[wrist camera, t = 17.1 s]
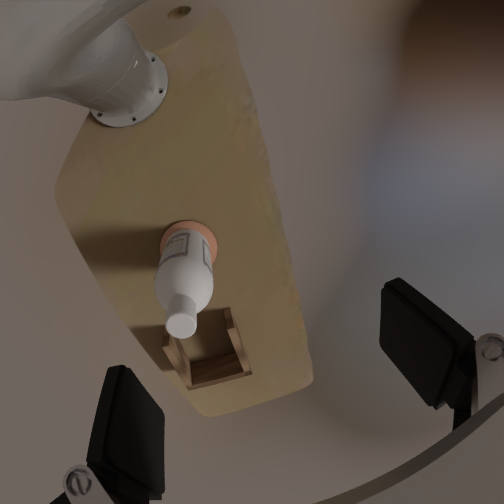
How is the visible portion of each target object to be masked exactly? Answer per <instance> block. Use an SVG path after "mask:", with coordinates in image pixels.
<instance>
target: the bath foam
mask: <svg viewBox="0 0 504 504" xmlns="http://www.w3.org/2000/svg"><path fill="white" fill-rule="evenodd" d="M213 285H214V282H213V273H212V265H211V256H210V248H209V244H208V242H207V240H206V238H205V237H204V236H203V235H202V234H201V233H199V232H198V231H196V230H192V229H182V230H178V231H176V232H175V233H173V234H172V235H171V236H170V237H169V238H168V240H167V242H166V245H165V247H164V250H163V253H162V256H161V259H160V262H159V266H158V269H157V272H156V275H155V293H156V296H157V299H158V301H159V303H160V304H161V306H162V307H163V308H164V309H165V310H166V311H167V313H166V320H165V327H166V330H167V332H168V333H169V334H170V335H172V336H173V337H176V338H181V339H182V338H188V337H190V336H192V335H193V334H194V333H195V331H196V328H197V313H199V312H200V311H202V310H203V309H204V308H205V307H206V305H207V304H208V302H209V300H210V298H211V296H212V292H213Z"/></svg>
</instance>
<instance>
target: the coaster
mask: <svg viewBox="0 0 504 504" xmlns="http://www.w3.org/2000/svg"><path fill="white" fill-rule="evenodd" d="M182 229H192V230H196V231H198V232H199V233H201V234H202V235H203V236H204V237H205V238H206V240H207V242H208V244H209V248H210V256H211V265H212V264H213V263H214V261H215V259H216V256H217V242H216V239H215V236H214V234H213V233H212V232H211V230H210V229H209V228H208V227H206V226H205V225H204V224H202V223H200V222H197V221H191V220H186V221H180V222H177V223H175V224H173V225H172V226H171V227H169V228H168V229H167V230H166V232H165V233H164V235H163V237H162V239H161V243H160V254H161V256H162V253H163V250H164V247H165V245H166V242H167V240H168V238H169V237H170V236H171V235H172V234H173V233H175V232H176V231H178V230H182Z"/></svg>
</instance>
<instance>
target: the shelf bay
mask: <svg viewBox="0 0 504 504" xmlns="http://www.w3.org/2000/svg"><path fill="white" fill-rule="evenodd" d="M224 315H225V321H226V326H227V331H228V333H229V336H230V338H231V341H232V343H233V346H234V348H235V351H236V352H233V353H230V354H226V355H223V356H219V357H215V358H212V359H208V360H204V361H200V362H196V363H192V364H191V362H190V360H189V359H188V357H187V355H186V353H185V351H184V349H183V347H182V345H181V344H180V342H179V340H178V338H176V337H173V336H172V335H170V334H169V333H168V332H167V330H166V327H165V328H164V335H163V343H162V348H163V350H164V352H165V353H166V355H167V357H168V358H169V360H170V362H171V363H172V365H173V367H174V368H175V370H176V372H177V373H178V375H179V376H180V378H181V380H182V381H183V383H184V384H185V386H186V387H187V389H188V390H193V389H197V388H202V387H206V386H210V385H214V384H218V383H222V382H226V381H230V380H233V379H237V378H241V377H244V376H248V375H251V374H252V372H251V368H250V364H249V361H248V357H247V353H246V350H245V348H244V345H243V342H242V340H241V337H240V334H239V331H238V329H237V326H236V323H235V320H234V317H233V315H232V312H231V309H230V308H227V309H224Z"/></svg>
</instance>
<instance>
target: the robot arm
mask: <svg viewBox="0 0 504 504" xmlns="http://www.w3.org/2000/svg"><path fill="white" fill-rule="evenodd" d="M146 1H148V0H0V100H21V99H30V98H35V97H43V96H49V97H55V98H59V99H62V100H66V101H69V102H72V103H76V104H79V105H82V106H85V107H88V108H89V109H90V111H91V113H92V114H93V116H94V117H95V118H96V119H97V120H98V121H100V122H101V123H103V124H105V125H108V126H112V127H122V128H123V127H129V126H133V125H136V124H138V123H140V122H142V121H144V120H146V119H147V118H148V117H150V116H151V115H152V114H153V113H154V112H155V111H156V110H157V109H158V108H159V106H160V105H161V103H162V102H163V100H164V97H165V95H166V92H167V88H168V74H167V71H166V68H165V66H164V64H163V62H162V61H161V60H160V59H159V57H158V56H156V55H155V54H153V53H152V52H149V51H147V50H143V49H142V47H141V45H140V43H139V42H138V40H137V38H136V37H135V35H134V33H133V31H132V30H131V28H130V26H129V25H128V23H127V22H126V21H125V20H124V19H123V18H122V17H123V16H125V15H126V14H128V13H129V12H130V11H132V10H134V9H135V8H137V7H138V6H140V5H141V4H143V3H144V2H146ZM152 60H155V61H154V62H152ZM160 91H163V92H162V93H159V92H160ZM101 114H102V116H101V117H100V115H101ZM134 118H136V120H135V121H133V119H134ZM473 338H474V336H472V335H471V334H470V333H469V332H468V331H467V330H465V329H464V328H463V327H462V326H461V325H460V324H458V323H457V322H456V321H455V320H454V319H452V318H451V317H450V316H449V315H448V314H446V313H445V312H444V311H442V310H441V309H440V308H439V307H438V306H436V305H435V304H434V303H433V302H431V301H430V300H429V299H428V298H426V297H425V296H424V295H422V294H421V293H420V292H418V291H417V290H416V289H415V288H413V287H412V286H411V285H409V284H408V283H407V282H405V281H404V280H403V279H401V278H396V279H393V280H391V281H388V282H386V283H385V285H384V288H383V289H382V290H381V320H380V338H379V342H380V346H381V348H382V350H383V351H384V352H385V353H386V354H387V356H388V357H389V358H390V359H391V361H392V362H393V363H394V364H395V365H396V367H397V368H398V369H399V370H400V372H401V373H402V374H403V375H404V376H405V378H406V379H407V380H408V381H409V383H410V384H411V385H412V386H413V387H414V389H415V390H416V391H417V393H418V394H419V395H420V396H421V398H422V399H423V400H424V401H425V403H426V404H427V405H428V406H433V407H434V409H435V410H438V409H439V408H440V407H442V406H443V405H445V404H446V403H447V404H448V406H449V407H450V419H449V428H448V435H447V436H446V437H444V438H443V439H441V440H440V441H438V442H437V443H435V444H434V445H433V446H431V447H430V448H428V449H427V450H425V451H423V452H422V453H420V454H419V455H417V456H416V457H414V458H412V459H411V460H409V461H407V462H406V463H404V464H402V465H400V466H399V467H397V468H395V469H393V470H391V471H389V472H387V473H385V474H384V475H382V476H380V477H378V478H376V479H374V480H371V481H369V482H367V483H365V484H363V485H361V486H358V487H356V488H354V489H352V490H349V491H347V492H344V493H342V494H340V495H337V496H334V497H331V498H329V499H326V500H323V501H320V502H317V503H314V504H504V337H502V336H501V335H498V334H495V333H488V334H484V335H482V336H480V337H479V339H478V340H477V342H476V341H475V340H474V339H473ZM164 426H165V417H164V413H163V411H162V409H161V408H160V407H159V406H158V405H157V403H156V402H155V401H154V399H153V398H152V397H151V396H150V394H149V393H148V392H147V390H146V389H145V388H144V386H142V384H141V382H140V381H139V380H138V378H137V377H136V376H135V374H134V373H133V372H132V370H131V369H130V368H126V366H124V365H118V366H113V367H109V368H108V370H107V373H106V376H105V380H104V383H103V387H102V391H101V395H100V398H99V402H98V406H97V411H96V415H95V419H94V423H93V428H92V432H91V438H90V442H89V447H88V453H87V458H86V461H87V466H84V465H75V466H73V467H71V468H70V469H69V470H68V471H67V472H66V474H65V475H64V479H63V487H64V491H65V492H64V493H62V494H61V495H60V496H59V497H58V498H56V499H55V500H54V501H52V502H51V503H50V504H149V500H162V495H161V494H163V493H164V491H165V477H164Z"/></svg>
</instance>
